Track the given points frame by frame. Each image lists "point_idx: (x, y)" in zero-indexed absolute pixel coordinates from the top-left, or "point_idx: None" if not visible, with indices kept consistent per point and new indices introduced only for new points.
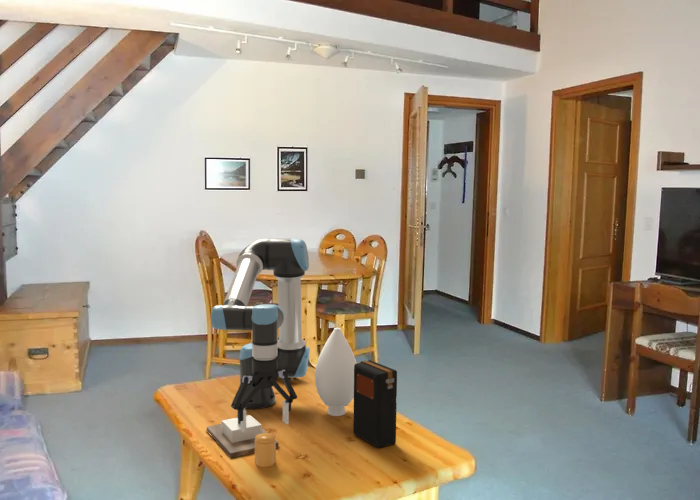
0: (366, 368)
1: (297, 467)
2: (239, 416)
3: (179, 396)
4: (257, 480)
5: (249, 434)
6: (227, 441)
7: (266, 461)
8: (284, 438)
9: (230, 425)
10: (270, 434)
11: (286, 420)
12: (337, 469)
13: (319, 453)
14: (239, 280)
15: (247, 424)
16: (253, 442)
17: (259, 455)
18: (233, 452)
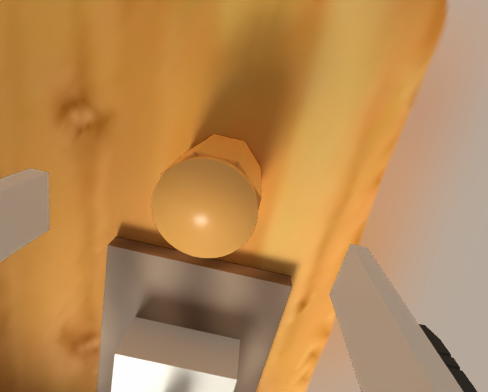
0: None
1: (147, 45)
2: (456, 368)
3: None
4: (336, 67)
5: (174, 340)
6: (245, 355)
7: (238, 143)
8: (65, 274)
9: None
10: (164, 216)
11: (25, 181)
12: None
13: (6, 88)
14: None
15: (158, 385)
16: (182, 300)
17: (256, 172)
18: (281, 285)
